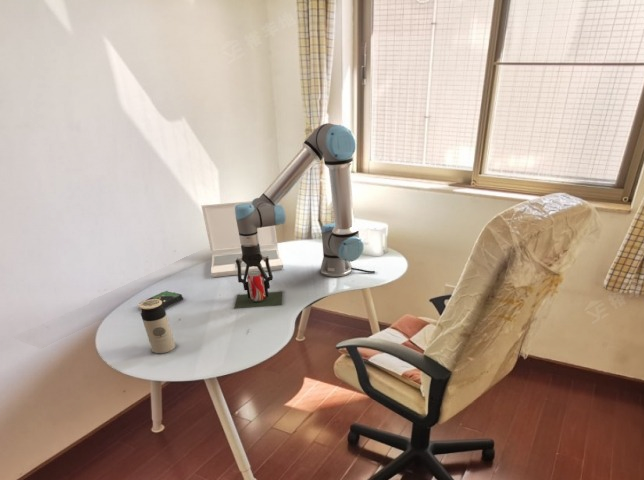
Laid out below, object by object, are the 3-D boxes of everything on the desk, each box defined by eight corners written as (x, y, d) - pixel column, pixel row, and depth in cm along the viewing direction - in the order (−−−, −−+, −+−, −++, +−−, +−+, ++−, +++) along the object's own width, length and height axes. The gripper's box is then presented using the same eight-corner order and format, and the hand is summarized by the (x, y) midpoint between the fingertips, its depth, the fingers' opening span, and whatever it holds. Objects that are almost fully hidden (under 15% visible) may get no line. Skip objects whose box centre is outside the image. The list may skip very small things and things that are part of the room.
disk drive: (157, 313, 193) (183, 299, 203) (155, 307, 191) (182, 293, 202) (140, 309, 197) (167, 295, 208) (138, 303, 196) (165, 289, 206)
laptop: (212, 278, 224) (199, 218, 208) (213, 260, 245) (201, 205, 229) (283, 269, 230) (276, 211, 214) (278, 253, 251) (271, 199, 235)
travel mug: (154, 344, 170) (139, 300, 160) (176, 341, 172) (163, 297, 162) (151, 355, 164) (136, 309, 154) (174, 352, 165) (161, 306, 155)
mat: (282, 291, 207) (282, 291, 207) (281, 304, 196) (281, 304, 196) (237, 295, 206) (237, 294, 206) (234, 308, 194) (234, 308, 194)
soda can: (263, 303, 197) (259, 276, 191) (248, 302, 198) (243, 275, 192) (269, 296, 203) (265, 270, 196) (254, 295, 204) (250, 269, 198)
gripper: (223, 248, 183) (234, 301, 196) (274, 245, 185) (281, 298, 197) (226, 242, 189) (236, 294, 202) (275, 239, 191) (281, 291, 204)
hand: (258, 296), depth 200 cm, fingers closed on soda can, 7 cm apart
